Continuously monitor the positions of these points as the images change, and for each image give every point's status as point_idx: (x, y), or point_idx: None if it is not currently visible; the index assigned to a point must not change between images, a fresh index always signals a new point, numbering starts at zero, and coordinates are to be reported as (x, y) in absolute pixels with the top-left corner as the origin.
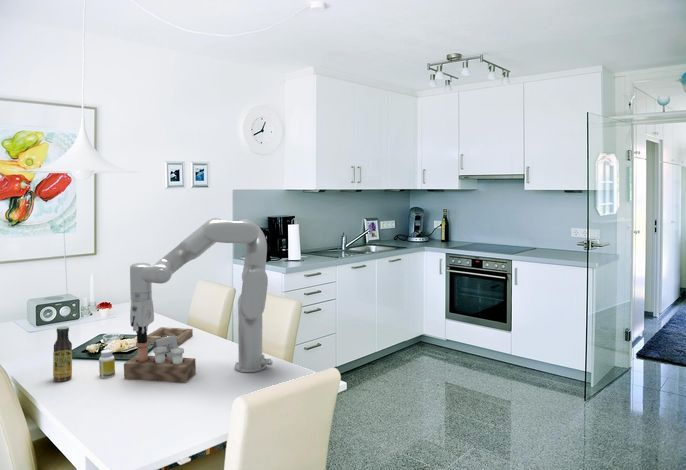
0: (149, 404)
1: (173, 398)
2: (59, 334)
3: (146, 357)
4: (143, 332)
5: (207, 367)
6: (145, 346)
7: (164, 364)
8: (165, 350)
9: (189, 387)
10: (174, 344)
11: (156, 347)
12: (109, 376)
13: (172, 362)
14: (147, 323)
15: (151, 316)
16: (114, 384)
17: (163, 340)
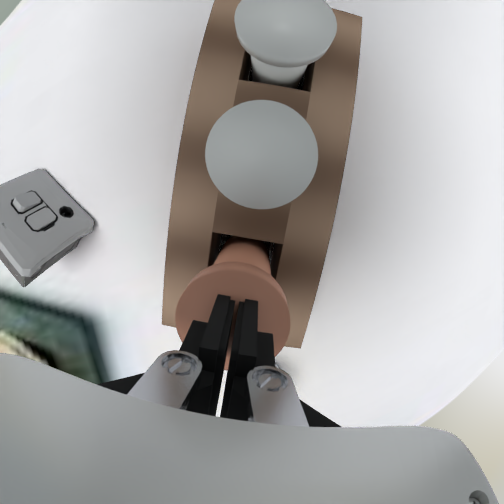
0: (496, 152)
1: (462, 82)
2: None
3: (254, 251)
4: (270, 377)
5: (158, 11)
6: (274, 280)
7: (325, 117)
8: (278, 104)
9: (379, 32)
10: (8, 192)
11: (230, 193)
12: (277, 366)
13: (269, 85)
14: (272, 448)
15: (4, 478)
16: (345, 324)
17: (11, 240)
